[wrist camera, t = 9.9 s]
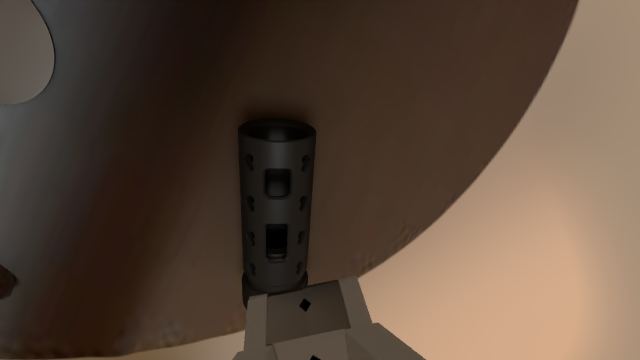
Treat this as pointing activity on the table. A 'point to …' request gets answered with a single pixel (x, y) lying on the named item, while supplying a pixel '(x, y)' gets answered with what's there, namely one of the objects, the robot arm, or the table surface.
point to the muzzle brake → (275, 203)
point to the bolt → (6, 283)
